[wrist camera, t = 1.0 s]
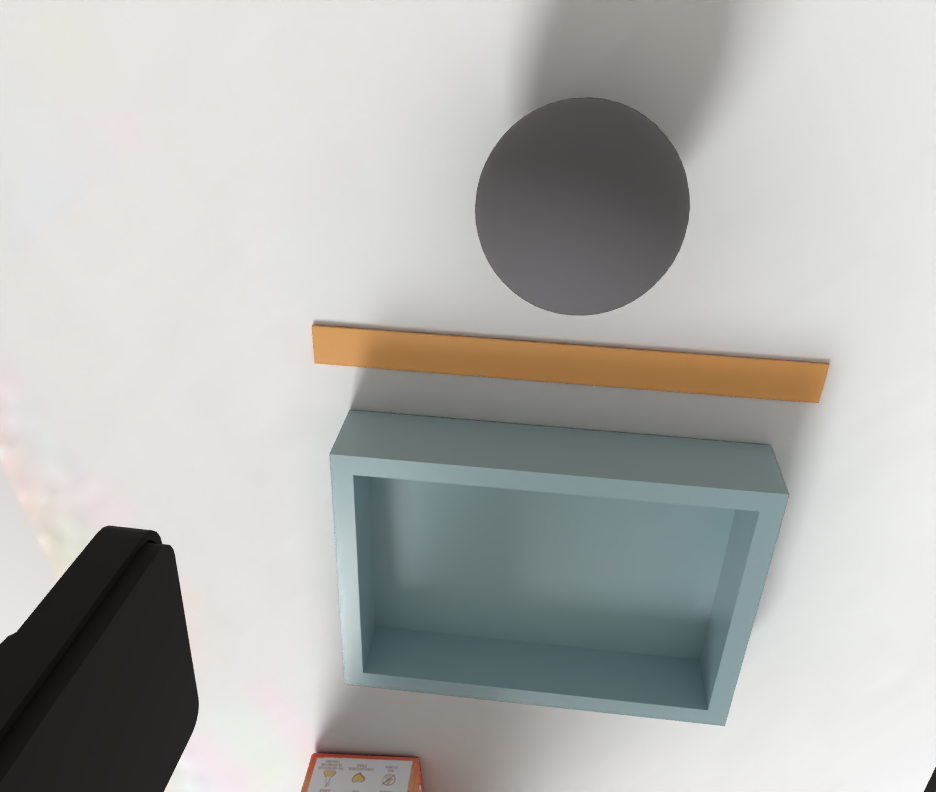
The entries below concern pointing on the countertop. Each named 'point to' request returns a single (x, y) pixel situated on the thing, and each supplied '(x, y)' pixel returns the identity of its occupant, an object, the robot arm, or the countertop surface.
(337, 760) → the cracker box
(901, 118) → the countertop surface
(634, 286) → the ball
